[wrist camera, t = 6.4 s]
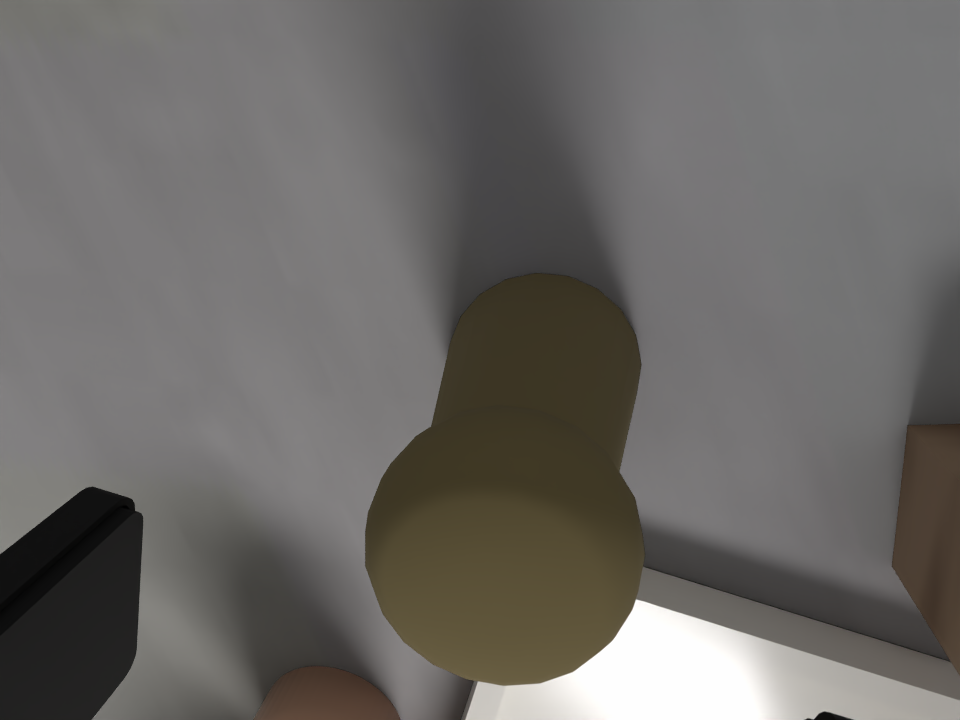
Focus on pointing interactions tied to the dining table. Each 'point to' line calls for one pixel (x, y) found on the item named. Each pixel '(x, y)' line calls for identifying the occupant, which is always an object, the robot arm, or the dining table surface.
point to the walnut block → (932, 530)
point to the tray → (730, 668)
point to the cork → (516, 491)
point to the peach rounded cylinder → (325, 697)
